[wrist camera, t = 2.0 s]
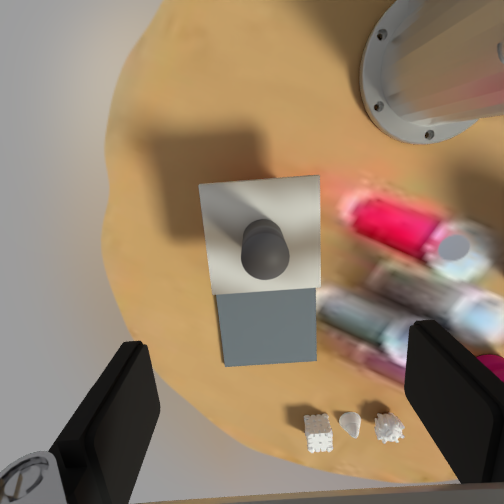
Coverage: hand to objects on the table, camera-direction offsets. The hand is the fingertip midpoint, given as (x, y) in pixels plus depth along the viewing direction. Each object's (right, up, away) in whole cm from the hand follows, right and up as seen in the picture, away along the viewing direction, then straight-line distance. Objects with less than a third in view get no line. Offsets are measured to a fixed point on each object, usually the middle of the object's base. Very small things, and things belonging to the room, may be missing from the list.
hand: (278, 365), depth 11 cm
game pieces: (+12, -18, +29) cm, 36 cm away
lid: (0, +5, +17) cm, 18 cm away
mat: (+1, -4, +24) cm, 25 cm away
